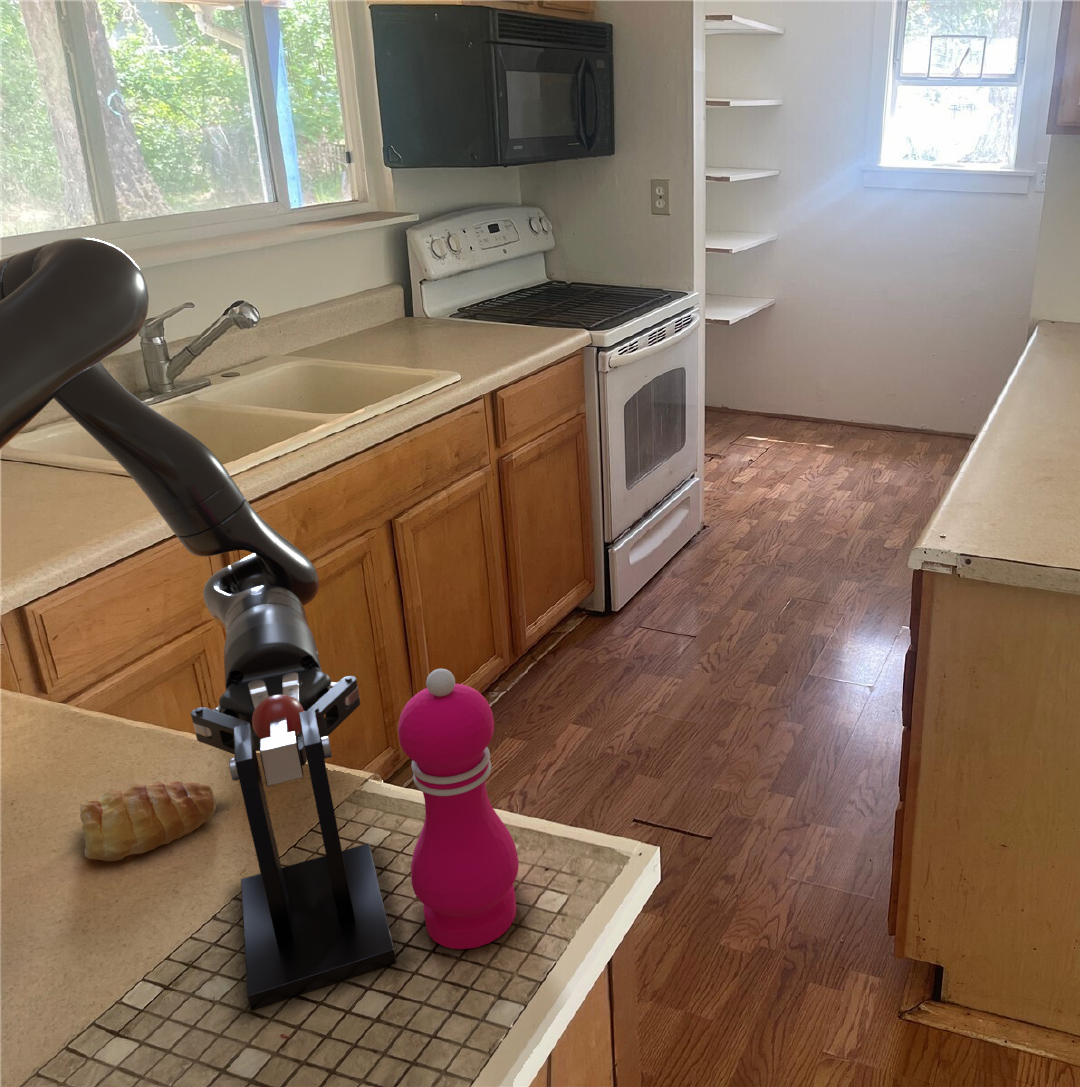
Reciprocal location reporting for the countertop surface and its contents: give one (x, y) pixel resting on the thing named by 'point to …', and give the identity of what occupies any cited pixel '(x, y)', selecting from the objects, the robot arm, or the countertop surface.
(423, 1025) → the countertop surface
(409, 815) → the countertop surface
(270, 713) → the lever
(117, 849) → the pastry
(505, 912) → the pepper mill
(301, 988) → the bracket
